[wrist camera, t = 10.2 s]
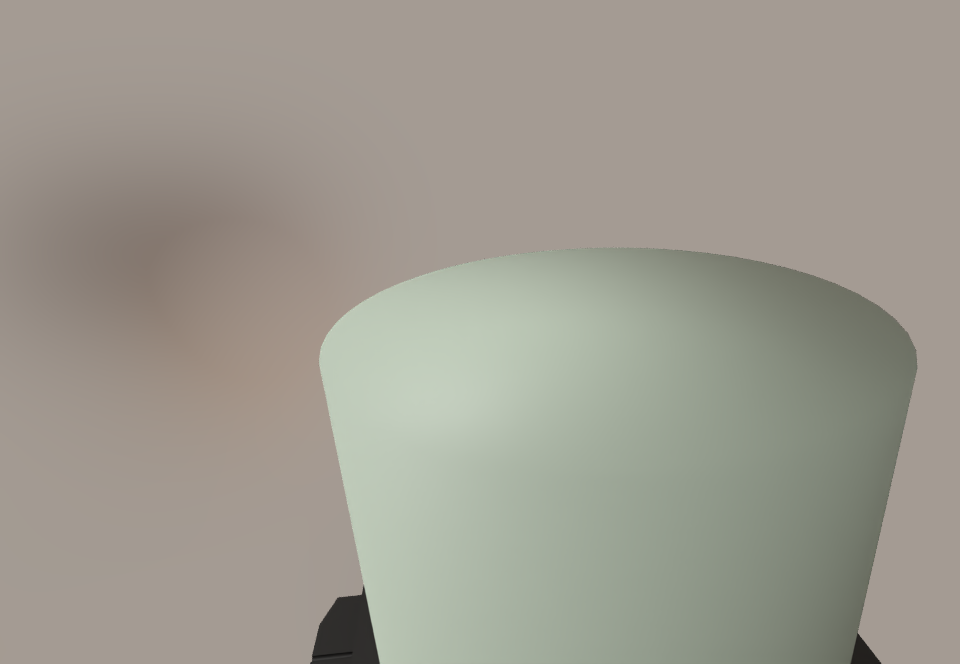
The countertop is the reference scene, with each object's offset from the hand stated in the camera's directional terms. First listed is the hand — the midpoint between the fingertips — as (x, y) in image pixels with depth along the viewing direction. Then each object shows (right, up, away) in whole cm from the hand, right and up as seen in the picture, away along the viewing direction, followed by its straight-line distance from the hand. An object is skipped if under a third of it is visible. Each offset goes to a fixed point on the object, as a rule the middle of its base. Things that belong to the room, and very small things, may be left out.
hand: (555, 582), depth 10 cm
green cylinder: (+1, -9, +1) cm, 9 cm away
